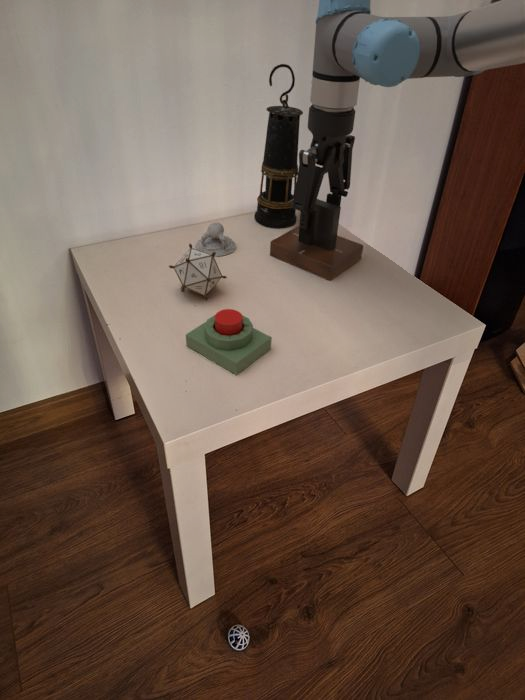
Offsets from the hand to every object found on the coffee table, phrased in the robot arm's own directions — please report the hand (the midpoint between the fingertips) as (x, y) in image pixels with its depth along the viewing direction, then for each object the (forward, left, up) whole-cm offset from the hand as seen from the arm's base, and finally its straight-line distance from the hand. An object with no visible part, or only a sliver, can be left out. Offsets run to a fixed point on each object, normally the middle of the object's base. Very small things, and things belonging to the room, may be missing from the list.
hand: (318, 235), depth 100 cm
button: (-6, +32, -1) cm, 33 cm away
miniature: (+17, +10, -5) cm, 20 cm away
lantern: (+16, -8, -5) cm, 19 cm away
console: (0, 0, -5) cm, 5 cm away
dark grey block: (0, 0, -2) cm, 2 cm away
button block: (-6, +32, -5) cm, 33 cm away
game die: (+8, +24, -5) cm, 26 cm away
